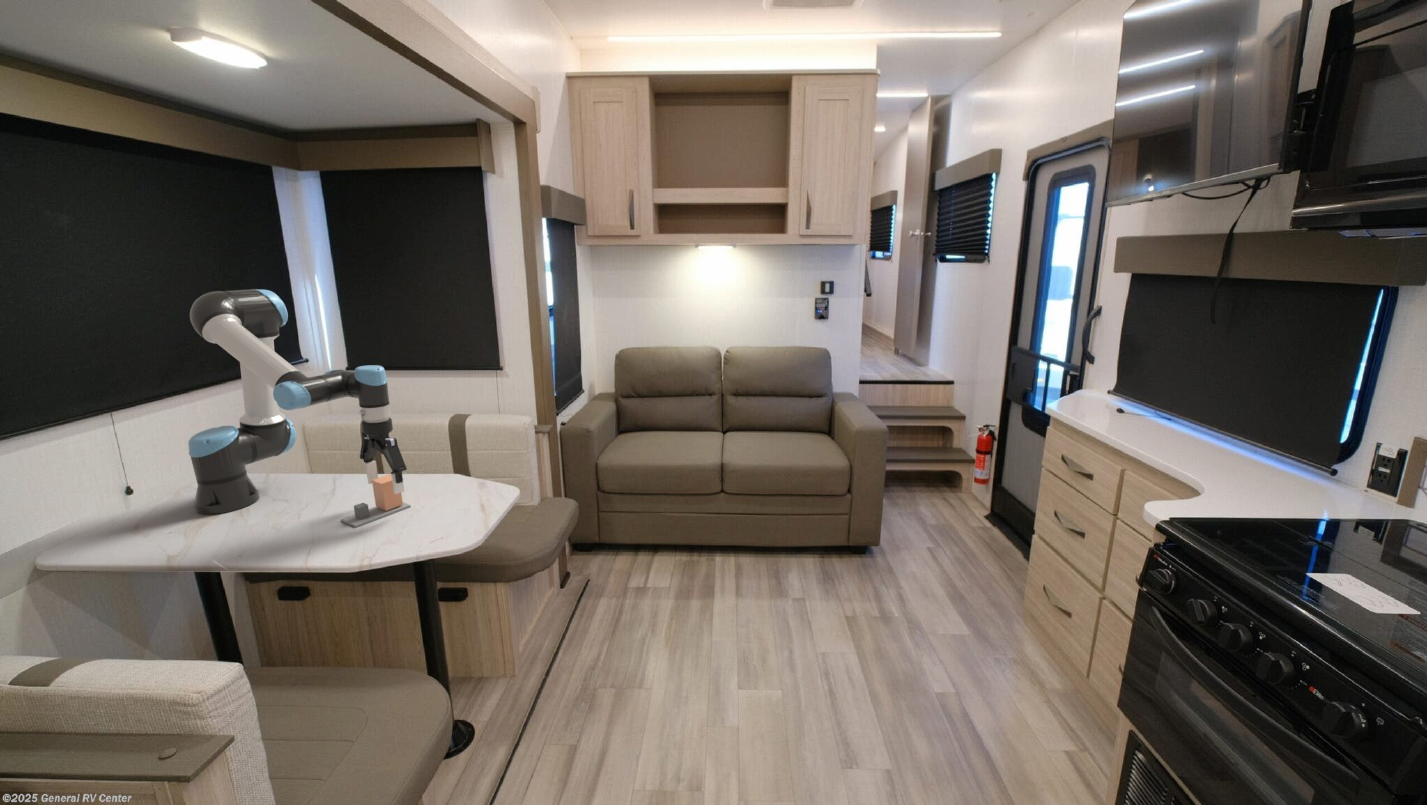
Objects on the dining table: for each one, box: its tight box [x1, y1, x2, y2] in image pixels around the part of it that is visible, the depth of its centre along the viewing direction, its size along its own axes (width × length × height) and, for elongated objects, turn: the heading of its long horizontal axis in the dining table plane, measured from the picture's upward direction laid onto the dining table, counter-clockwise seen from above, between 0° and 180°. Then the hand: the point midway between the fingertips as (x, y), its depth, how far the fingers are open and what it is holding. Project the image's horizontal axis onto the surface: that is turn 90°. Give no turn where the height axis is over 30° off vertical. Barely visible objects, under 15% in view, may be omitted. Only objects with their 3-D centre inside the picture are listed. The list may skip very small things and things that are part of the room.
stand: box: [340, 502, 412, 528], centre depth 167 cm, size 8×16×9 cm, turn 149°
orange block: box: [371, 474, 403, 511], centre depth 170 cm, size 5×5×9 cm
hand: (386, 487), depth 170 cm, fingers open, 13 cm apart
